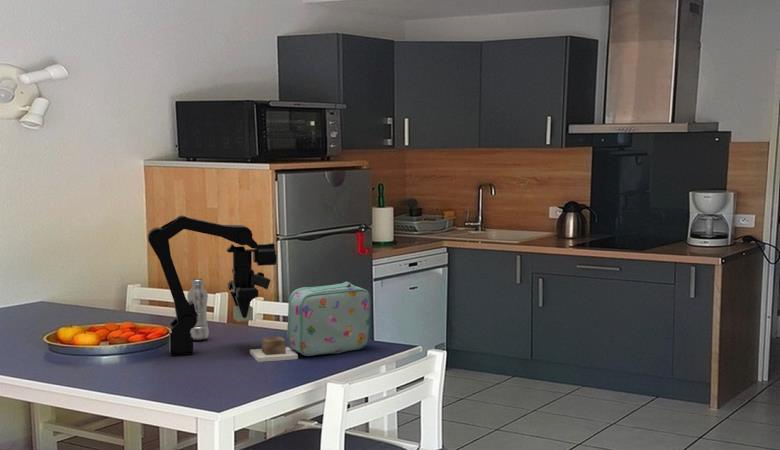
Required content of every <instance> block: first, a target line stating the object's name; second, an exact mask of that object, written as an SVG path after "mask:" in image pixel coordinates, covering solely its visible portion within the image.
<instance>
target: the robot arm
mask: <svg viewBox="0 0 780 450" xmlns="http://www.w3.org/2000/svg"><path fill="white" fill-rule="evenodd" d="M183 230H187V231H192V232H197V233H201V234H205V235H210V236H215V237H220V238H222V239H225V240H227V241H230V242H232V243H234V244H237V245H240V246H235V245H234V244H232V243H231V244H230V246H229V247H228V248H227V249H225V250H226V252H227V253H232V269H231V273H232V278H233V279H232V280H229V282H228V283H227V290H228V291H229V294H230V296H231V298H232V300H233V302H234V304H235V305H234V306H239V309H240V311H241V314H242V317H243V318H246V317H247V313H248V309H249V305H250V306H251V301H252V300H254V299H256V298H258V297H259V289H257V288H256V287H255V286H257V287H261V288H263V289H264V290H268V289H269V286H270V284H271V279H270V278H268V277H266V276H265V273H263V272H261V271H258V272H257V273H255V271H254V269H253V265H252V264H253V263H254V264H255V263H256V266H258V267H261V266H263V267H264V266H265V267H266V266H276V265H277V260H278V259H277V258H278V257H277V252H276V247H275V244H274V243H273V242H272V243H264V244H263V243H260V244H259V243H258V242H257V241H255V239H254V238H253V232H252V230H251V229H250V227H247V226H245V225H242V224H220V223H215V222H211V221H206V220H202V219H197V218H193V217H189V216H188V217H187V216H186V215H178V216H177V217H176V218H174V219H173V220H171V221H169V222H167V223H165V224H164V225H162V226H160V227H152V228H151V229H149V231H148V233H147V241H148V243H149V245H150V246H151V248H152V250H153V252H154V253H155V255H156V257H157V259H158V260H159V264H160V265H161V268H162V272H163V275H164V276H165V280H166V282H167V285H168V288H169V291H170V294H171V297H172V299H173V303H174V312H175V317H176V318H175V319H173V320H172V322H170V323H169V329H170V331H171V332H169V333H168V334H169V335H168V336H169V337H168V338H169V339H168V341H169V342H168V343H169V344H168V346H169V347H168V348H169V349H168V353H169V355H170V356H187V355H193V352H194V340H193V337H192V336H191V332H190V331H191V329H192V328H194V326H195V325H196V323H197V317H196V316H198V314H197V312H196V311H195V306H194V303H193V301H190V302H188V298H187V297H186V296H185V295H186V294H185V292H184V290H183V286H182V284H181V282H180V278H179V275H178V273H177V270H176V267H175V264H174V261H173V258H172V255H171V248H170V247H171V246H170V239H172V238H173V237H175V236H176V235H178V234H179V233H180V232H182V231H183ZM245 246H247V247H249V248H248V249H246V248H245ZM252 261H253V262H252Z"/></svg>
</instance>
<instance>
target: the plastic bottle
mask: <svg viewBox="0 0 780 450" xmlns="http://www.w3.org/2000/svg"><path fill="white" fill-rule="evenodd" d="M204 285H205V283H204V279H203V278H192V279H191V288H190V289H189V291H188V292H187V295H186V296H187V297H186V299H187V301H188V302H190V301H193V303H194V306H195V311H196V312H197V314H198V316H196V317H197V323H196V325H195V326H194V328H192V329H191V331H190V332H191V336H192V337H193V341H203V340H206V339H208V337H209V334H210V333H209V325H208V318H207V311H208V310H207V308H208V298H209V296H208V292H207V291H206V289H205V287H204Z"/></svg>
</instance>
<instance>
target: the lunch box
mask: <svg viewBox="0 0 780 450" xmlns="http://www.w3.org/2000/svg"><path fill="white" fill-rule="evenodd" d="M371 298H372V297H371V295H370V292H369V291H368V289H364V288H362V287H361V286H360V287H359V286H357V285H354V284H352V283H351V282H349V281H344V282H342V283H335V284H330V285H321V286H320V285H319V286H318V285H317V286H305V287H304V286H303V287H300V288H297V289H295V290H293V291H292V293H290V295H289V297H288V304H287V305H288V308H287V309H288V310H287V329H286V331H287V332H286V341H287V344H288V347H289V348H290V349H291V350H293V351H294V352H298V353H300V354H301V355H303V356H306V357H311V356H316V355H317V356H319V355H327V354H330V355H331V354H341V353H344V352H349V351H350V352H351V351H357V350H360V349H363V348H365V346H366V345H367V344H368V341H369V339H370V331H371V310H372V309H371V305H372V303H371V302H372V300H371Z"/></svg>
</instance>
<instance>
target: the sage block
mask: <svg viewBox="0 0 780 450" xmlns="http://www.w3.org/2000/svg"><path fill="white" fill-rule="evenodd" d="M232 311H233V312H232V313H233V315H232V316H233V320H234V321H236V322H238V323H239V322H251V321H254V307H253V306H251V304H250V305H249V309H248V313H247V317H246V318H243V317H242V314H241V311H240V309H239V306H236V305H233V309H232Z"/></svg>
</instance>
